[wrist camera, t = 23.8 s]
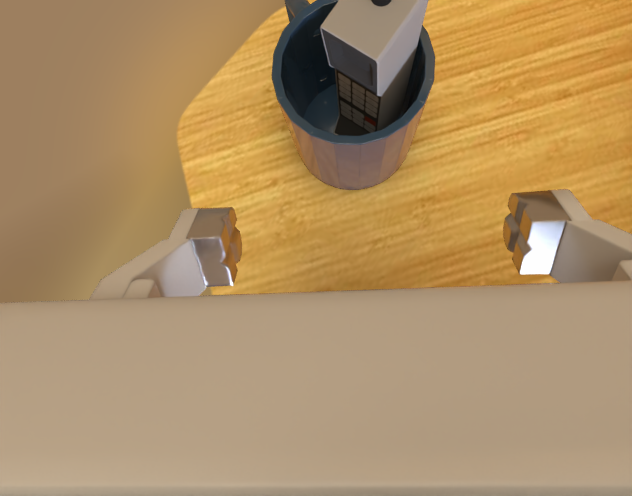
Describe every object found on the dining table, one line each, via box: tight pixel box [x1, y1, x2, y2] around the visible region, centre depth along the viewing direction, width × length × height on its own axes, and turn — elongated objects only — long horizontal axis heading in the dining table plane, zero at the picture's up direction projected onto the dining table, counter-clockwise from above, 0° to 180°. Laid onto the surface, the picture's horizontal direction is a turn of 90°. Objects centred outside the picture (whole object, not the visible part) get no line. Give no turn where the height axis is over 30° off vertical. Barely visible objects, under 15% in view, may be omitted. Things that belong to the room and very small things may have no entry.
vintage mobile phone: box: [320, 0, 428, 136], centre depth 28 cm, size 4×5×25 cm
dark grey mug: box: [272, 0, 435, 190], centre depth 35 cm, size 14×10×12 cm
